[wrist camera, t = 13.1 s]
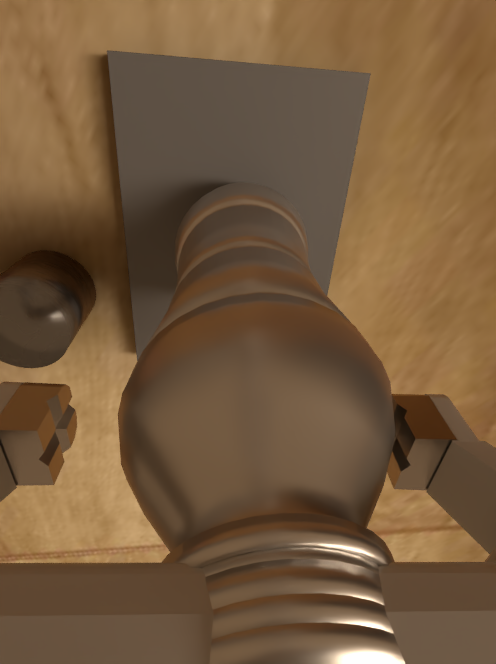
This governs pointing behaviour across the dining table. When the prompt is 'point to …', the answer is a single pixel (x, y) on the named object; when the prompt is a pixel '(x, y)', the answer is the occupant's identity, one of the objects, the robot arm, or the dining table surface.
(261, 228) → the plastic bottle
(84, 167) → the dining table surface
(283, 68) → the charcoal board
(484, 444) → the robot arm
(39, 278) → the dark metal tin
